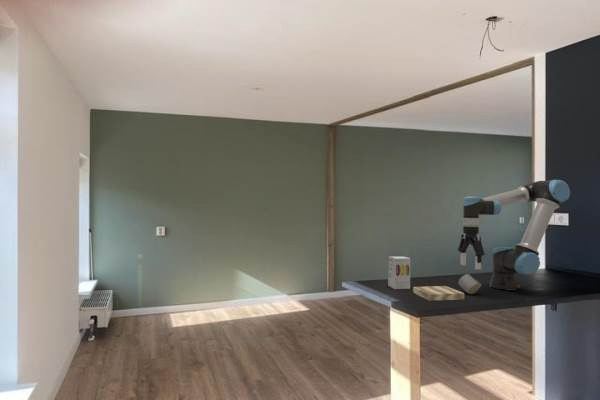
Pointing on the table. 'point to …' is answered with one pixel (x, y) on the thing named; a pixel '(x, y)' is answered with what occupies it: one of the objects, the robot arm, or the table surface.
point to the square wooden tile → (438, 293)
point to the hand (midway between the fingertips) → (470, 267)
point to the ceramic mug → (469, 284)
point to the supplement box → (399, 272)
